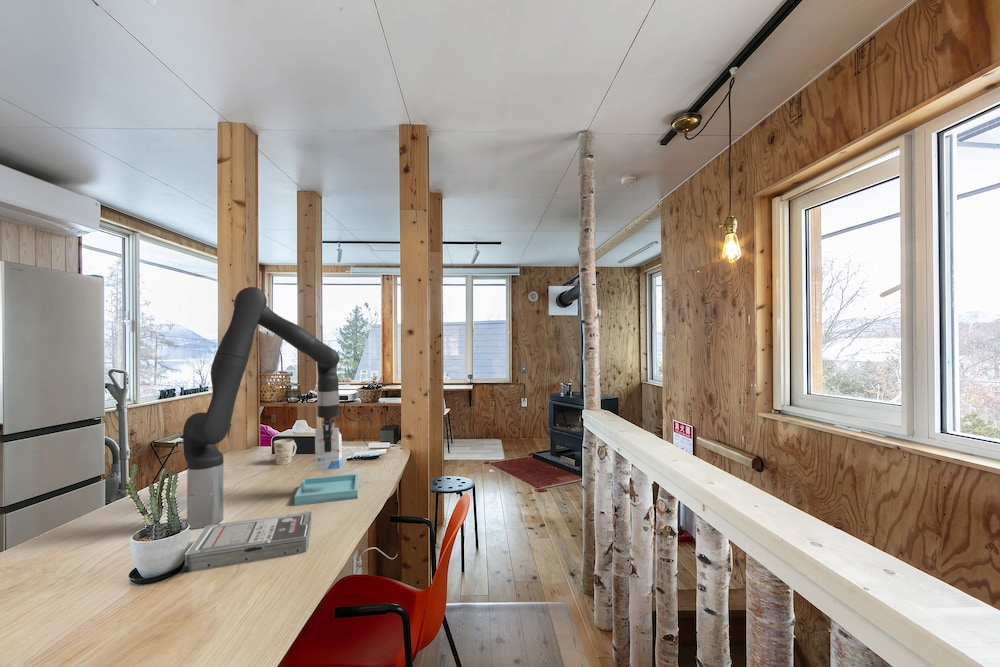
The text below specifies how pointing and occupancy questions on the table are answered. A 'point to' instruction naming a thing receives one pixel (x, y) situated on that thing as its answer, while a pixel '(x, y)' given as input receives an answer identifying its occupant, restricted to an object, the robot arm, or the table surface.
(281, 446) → the mug
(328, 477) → the tray
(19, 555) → the table surface
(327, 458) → the ink box
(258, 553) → the hard drive
